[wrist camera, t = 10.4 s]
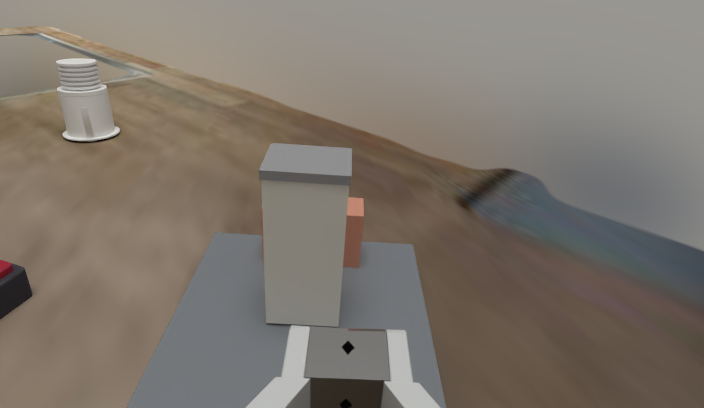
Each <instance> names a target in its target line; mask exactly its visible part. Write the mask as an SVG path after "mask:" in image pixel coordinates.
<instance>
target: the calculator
mask: <svg viewBox="0 0 704 408" xmlns="http://www.w3.org/2000/svg"><path fill="white" fill-rule="evenodd" d="M31 296H32V291H31V288H30V284H29V281H28V278H27V275H26V271H25V269H24V267H21V266H18V265H15V264H11V263H9V262H6V261H2V260H0V319H1V318H3V317H4V316H5V315H7V314H8V313H10V312H11V311H12V310H14V309H15V308H16V307H18V306H19V305H20V304H22V303H23V302H25V301H26V300H27V299H29V298H30V297H31Z"/></svg>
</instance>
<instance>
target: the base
mask: <svg viewBox="0 0 704 408" xmlns="http://www.w3.org/2000/svg"><path fill="white" fill-rule="evenodd" d="M363 220H364V208H363V198H350V197H348V205H347V218H346V232H345V245H344V259H343V272H342V286H341V299H340V312H339V326H338V327H332V328H347V329H348V328H358V329H385V330H386V329H388V330H405V331H406V333H407V339H408V347H409V354H410V362H411V369H412V376H413V382H414V383H420V384H421V386H422V387H423V388H424V389H425V390H426V391H427V393H428V394H429V395H430V396H431V397H432V398H433V399H434V401H435V402H436V403H437V404H438V405H439V406H440V408H446V404H445V399H444V395H443V390H442V385H441V380H440V375H439V370H438V365H437V360H436V355H435V351H434V346H433V341H432V336H431V331H430V326H429V321H428V316H427V312H426V307H425V302H424V297H423V292H422V287H421V282H420V277H419V272H418V268H417V263H416V258H415V253H414V248H413V245H412V244H395V243H379V242H362V230H363ZM261 222H262V235H248V234H231V233H215V234H214V236H213V238H212V240H211V242H210V244H209V246H208V248H207V250H206V252H205V254H204V256H203V258H202V260H201V262H200V264H199V266H198V268H197V270H196V272H195V274H194V276H193V278H192V280H191V282H190V284H189V285H188V287H187V289H186V291H185V293H184V295H183V297H182V299H181V301H180V303H179V305H178V307H177V309H176V311H175V313H174V315H173V317H172V319H171V321H170V323H169V325H168V327H167V329H166V331H165V333H164V335H163V337H162V339H161V341H160V343H159V345H158V347H157V349H156V350H155V352H154V354H153V356H152V358H151V360H150V362H149V364H148V366H147V368H146V370H145V372H144V374H143V376H142V378H141V380H140V382H139V384H138V386H137V388H136V390H135V392H134V394H133V396H132V398H131V400H130V402H129V404H128V406H127V408H246V406H247V405H248V404H249V403H250V402H251V401H252V400H253V399H254V398H255V397H256V396H257V395H258V394H259V393H260V392H261V391H262V390H263V389H264V388H265V387H266V386H267V385H268V384H269V383H270V382H271V381H272V380H273V379H274V378H275V377H281V374H282V369H283V363H284V357H285V352H286V346H287V340H288V335H289V330H290V327H291V325H295V324H276V323H266V309H265V277H264V245H263V213H262V209H261ZM297 326H313V325H297ZM317 327H331V326H317Z"/></svg>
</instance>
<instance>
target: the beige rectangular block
mask: <svg viewBox="0 0 704 408" xmlns="http://www.w3.org/2000/svg"><path fill="white" fill-rule="evenodd" d="M351 173H352V148H338V147H323V146H308V145H293V144H278V143H271V145H270V147H269V149H268V151H267V154H266V156H265V158H264V160H263V162H262V165H261V167H260V169H259V180H261V181H262V213H263V245H264V277H265V309H266V323H276V324H295V325H313V326H331V327H338V326H339V312H340V299H341V286H342V272H343V259H344V245H345V232H346V218H347V205H348V192H349V186H351Z"/></svg>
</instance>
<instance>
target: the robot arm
mask: <svg viewBox="0 0 704 408" xmlns="http://www.w3.org/2000/svg"><path fill="white" fill-rule="evenodd" d="M246 408H440V406H439V405H438V404H437V403H436V402H435V401H434V399H433V398H432V397H431V396H430V395H429V394H428V393H427V391H426V390H425V389H424V388H423V387H422V386H421V384H420V383H414V382H413V376H412V369H411V362H410V354H409V347H408V339H407V333H406V331H405V330H388V329H386V330H385V329H358V328H348V329H347V328H332V327H317V326H297V325H291V327H290V330H289V335H288V340H287V346H286V352H285V357H284V363H283V369H282V374H281V377H275V378H274V379H273V380H272V381H271V382H270V383H269V384H268V385H267V386H266V387H265V388H264V389H263V390H262V391H261V392H260V393H259V394H258V395H257V396H256V397H255V398H254V399H253V400H252V401H251V402H250V403H249V404H248V405H247V406H246Z"/></svg>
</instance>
